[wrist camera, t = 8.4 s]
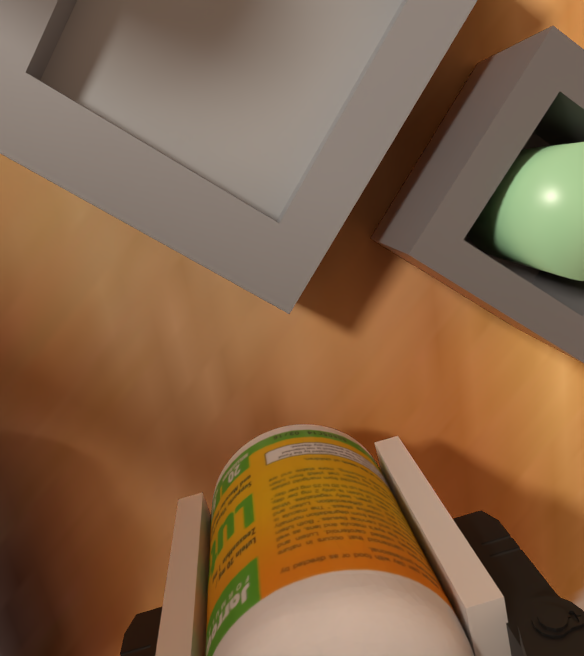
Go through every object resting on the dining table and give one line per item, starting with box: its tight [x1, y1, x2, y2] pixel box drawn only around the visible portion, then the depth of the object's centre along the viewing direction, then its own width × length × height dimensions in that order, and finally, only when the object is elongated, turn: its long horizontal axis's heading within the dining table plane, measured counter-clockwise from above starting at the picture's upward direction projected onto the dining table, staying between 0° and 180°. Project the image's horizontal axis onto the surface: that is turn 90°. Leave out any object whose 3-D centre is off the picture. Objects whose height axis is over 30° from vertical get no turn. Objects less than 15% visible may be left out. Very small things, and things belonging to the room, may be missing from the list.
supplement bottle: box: [205, 424, 474, 656], centre depth 12 cm, size 5×5×10 cm
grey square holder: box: [371, 26, 584, 363], centre depth 15 cm, size 6×6×4 cm
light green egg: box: [467, 142, 584, 281], centre depth 14 cm, size 3×3×4 cm
